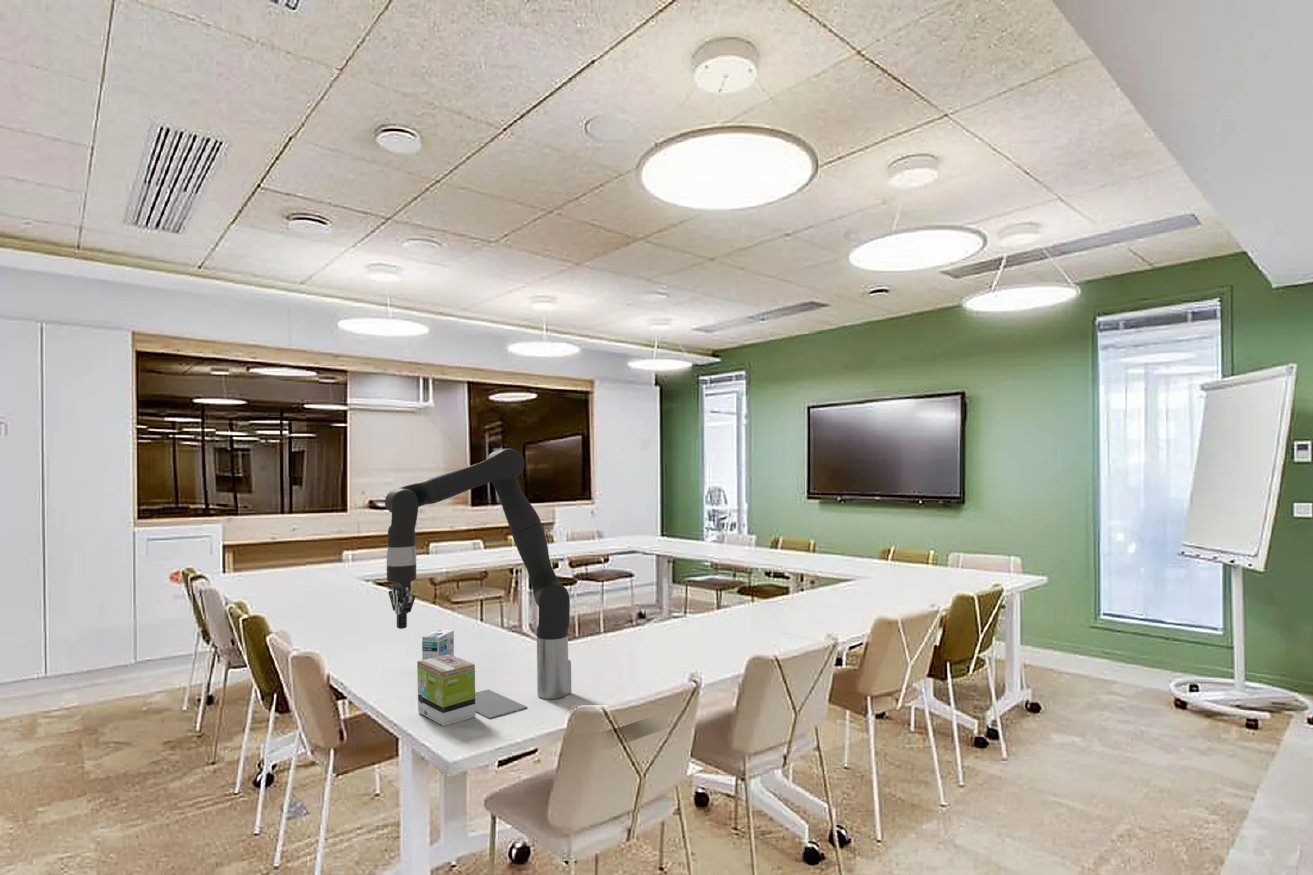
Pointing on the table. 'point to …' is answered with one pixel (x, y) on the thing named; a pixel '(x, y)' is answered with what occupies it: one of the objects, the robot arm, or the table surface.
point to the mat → (494, 704)
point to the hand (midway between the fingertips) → (401, 628)
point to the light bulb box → (438, 644)
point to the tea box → (446, 689)
